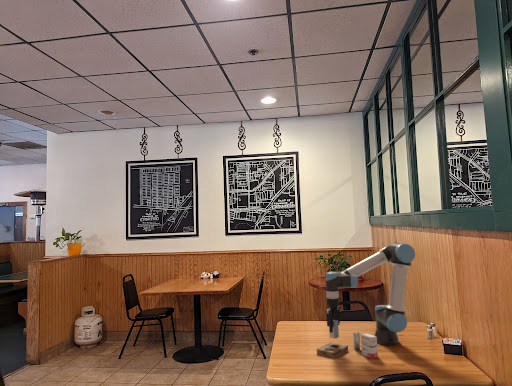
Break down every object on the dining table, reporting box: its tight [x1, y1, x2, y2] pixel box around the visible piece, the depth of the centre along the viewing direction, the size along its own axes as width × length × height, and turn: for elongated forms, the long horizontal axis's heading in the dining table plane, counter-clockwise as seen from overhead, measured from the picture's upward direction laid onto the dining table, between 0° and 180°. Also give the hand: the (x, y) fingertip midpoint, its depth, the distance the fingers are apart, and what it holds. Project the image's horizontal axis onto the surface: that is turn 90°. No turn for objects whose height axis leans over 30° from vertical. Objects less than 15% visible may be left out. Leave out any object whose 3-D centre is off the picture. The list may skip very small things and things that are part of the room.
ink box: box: [360, 333, 379, 360], centre depth 215 cm, size 8×5×12 cm, turn 26°
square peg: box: [328, 320, 340, 340], centre depth 226 cm, size 4×4×10 cm
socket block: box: [316, 342, 349, 359], centre depth 222 cm, size 12×16×3 cm
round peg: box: [353, 331, 361, 351], centre depth 227 cm, size 4×4×10 cm
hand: (334, 336), depth 225 cm, fingers closed on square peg, 4 cm apart
